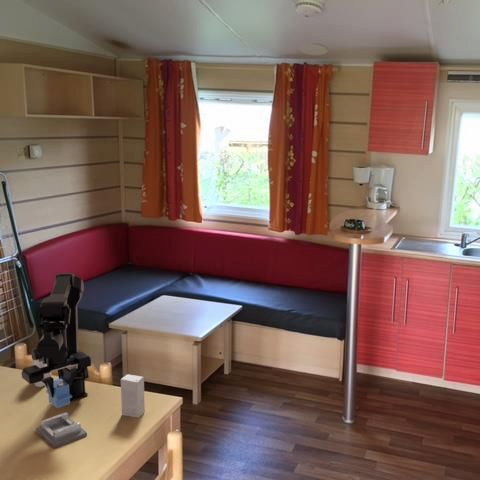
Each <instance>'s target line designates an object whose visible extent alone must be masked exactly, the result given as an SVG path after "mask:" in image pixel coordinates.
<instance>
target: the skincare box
mask: <svg viewBox="0 0 480 480" xmlns="http://www.w3.org/2000/svg"><path fill="white" fill-rule="evenodd" d="M144 381H145V380H144V376H142V375H141V376H140V375H134V374H128V373H127V374H125V375H124V376H123V377H122V378H120V399H121V415H122V416H127V417H131V418H136V419H139V418H140V417H141V416H142V415H143V414H145V412H146V410H145V409H146V408H145V406H146V404H145V382H144Z"/></svg>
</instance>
